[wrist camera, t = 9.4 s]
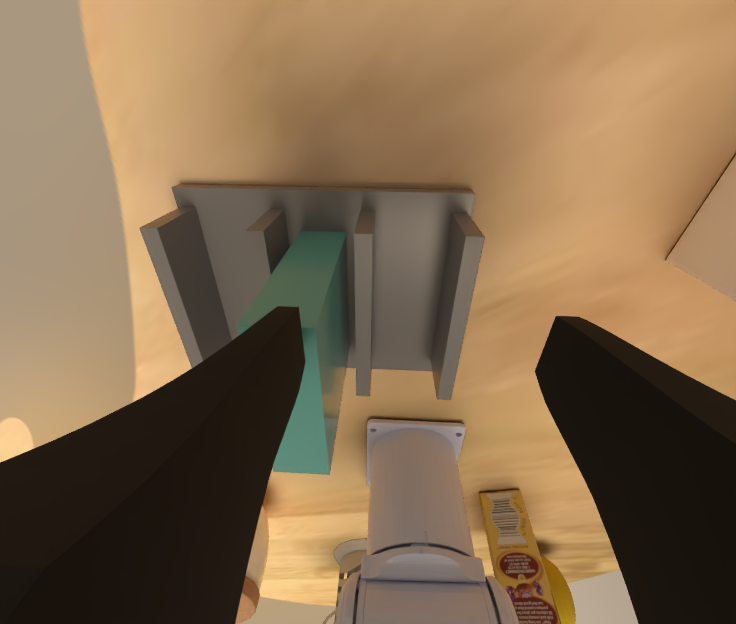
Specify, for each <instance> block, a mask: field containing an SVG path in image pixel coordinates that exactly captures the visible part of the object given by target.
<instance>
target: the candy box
mask: <svg viewBox="0 0 736 624" xmlns="http://www.w3.org/2000/svg"><path fill="white" fill-rule="evenodd" d="M479 499H480V504H481V509H482V514H483V519H484V525H485V530H486V535H487V541H488V546H489V551H490V556H491V561H492V566H493V571H494V576H495V578H496V579H497V580H498V582H499V583H500V585H501V586H502V587H503V588H504V589H505V590H506V591H507V593H508V594H509V596H510V598H511V601H512V603H513V606H514V609H515V611H516V615H517V618H518V621H519V624H561V621H560V617H559V614H558V611H557V607H556V604H555V601H554V598H553V595H552V591H551V588H550V585H549V581H548V578H547V575H546V572H545V568H544V565H543V562H542V559H541V556H540V553H539V550H538V546H537V543H536V540H535V537H534V534H533V530H532V527H531V524H530V521H529V518H528V514H527V511H526V508H525V505H524V501H523V498H522V495H521V491H520V490H508V491H496V492H486V493H479Z"/></svg>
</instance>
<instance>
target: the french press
mask: <svg viewBox="0 0 736 624" xmlns="http://www.w3.org/2000/svg"><path fill="white" fill-rule="evenodd" d="M363 555H367V539H358V540H350V541H348V542H345V543H342V544H340V545H339V546H338V547H337V548H336V549H335V550H334V558H335V559H336V561H337V562H338V564H339V565H340V574H339V584H338V593H337V603H336V609H335V610H334V612H332V613H331V614H330V615H329V616H328V617H327V618H326V619H325V621H324V622H323V624H325V623H326V622H327V620H328V619H329V618H331V617H332V616H333V615H334V614H335V622H334V624H335V623H336V615H337V608H338V602H339V597H340V592H341V589H342V587H343V585H344V584H345V582H346V581H347V580H348V579H349V576H350V575H351V574H352V573H361V563H362V556H363ZM344 573H348V574H347V578H346V579H344Z"/></svg>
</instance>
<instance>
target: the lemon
mask: <svg viewBox="0 0 736 624" xmlns="http://www.w3.org/2000/svg"><path fill="white" fill-rule="evenodd" d="M541 559H542V562H543V565H544V568H545V572H546V575H547V578H548V581H549V585H550V588H551V591H552V595H553V598H554V601H555V604H556V607H557V611H558V614H559V617H560V621H561V624H575V620H576V619H575V608H574V603H573V598H572V595H571V592H570V589H569V587H568V585H567V583H566V581H565V579H564V577H563V575H562V574H561V572H560V571H559V569H558V568H557V567H556V566H555V565H554V564H553V563H552V562H551V561H549V560H548V559H546V558H544V557H542V556H541Z"/></svg>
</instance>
